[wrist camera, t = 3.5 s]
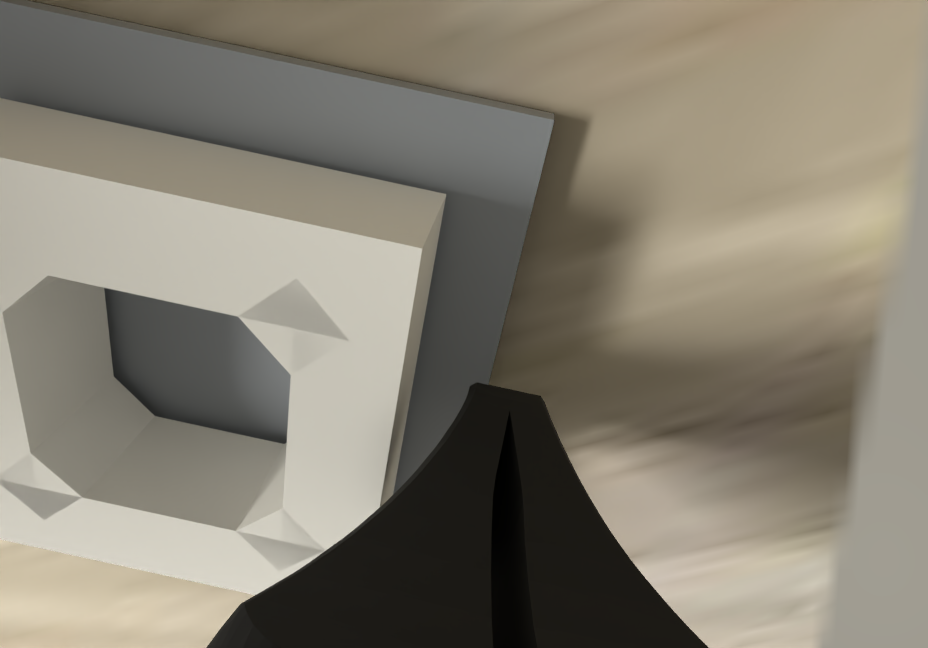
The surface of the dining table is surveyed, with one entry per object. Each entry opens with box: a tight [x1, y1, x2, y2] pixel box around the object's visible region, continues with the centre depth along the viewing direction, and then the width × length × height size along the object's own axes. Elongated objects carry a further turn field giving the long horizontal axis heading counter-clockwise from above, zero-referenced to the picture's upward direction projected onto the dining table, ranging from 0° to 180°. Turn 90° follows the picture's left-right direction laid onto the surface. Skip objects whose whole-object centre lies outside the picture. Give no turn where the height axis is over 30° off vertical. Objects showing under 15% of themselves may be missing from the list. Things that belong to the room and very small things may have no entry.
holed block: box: [0, 98, 446, 595], centre depth 12 cm, size 8×8×2 cm
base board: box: [0, 0, 554, 494], centre depth 12 cm, size 11×17×4 cm, turn 79°
